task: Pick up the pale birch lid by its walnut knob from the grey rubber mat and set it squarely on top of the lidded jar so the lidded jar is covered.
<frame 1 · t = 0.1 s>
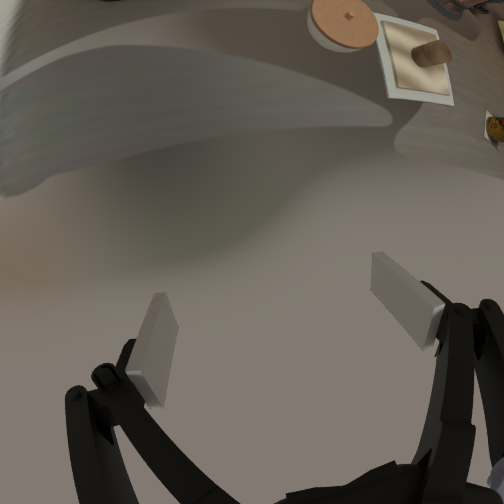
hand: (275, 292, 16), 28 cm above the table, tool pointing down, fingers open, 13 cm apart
condiment: (492, 130, 40), on the table
mat: (415, 59, 34), on the table
lidded jar: (328, 34, 33), on the table
lid: (416, 58, 33), point 1 cm above the table, touching mat
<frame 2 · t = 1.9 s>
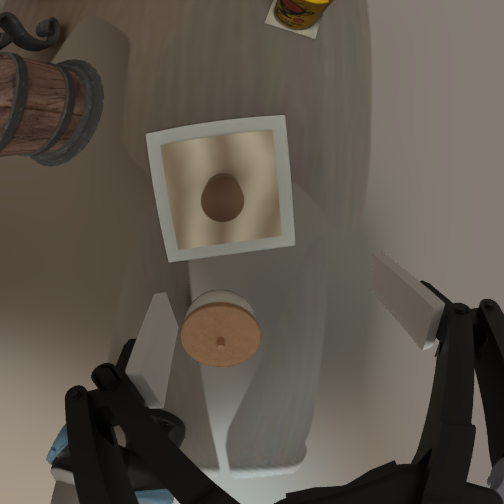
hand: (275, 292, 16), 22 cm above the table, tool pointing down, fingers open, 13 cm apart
tankard: (57, 91, 27), on the table
condiment: (296, 11, 26), on the table
mat: (222, 188, 35), on the table
lidded jar: (220, 307, 42), on the table
lid: (222, 189, 34), point 1 cm above the table, touching mat
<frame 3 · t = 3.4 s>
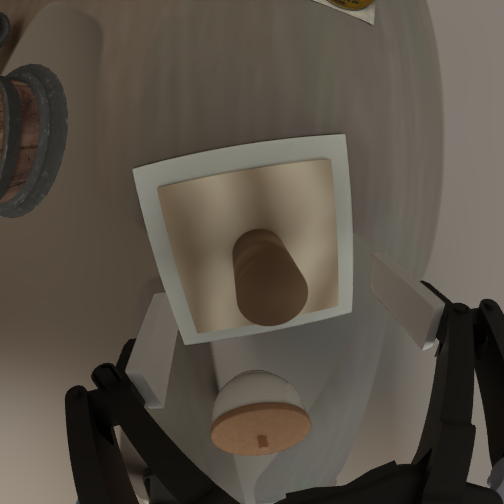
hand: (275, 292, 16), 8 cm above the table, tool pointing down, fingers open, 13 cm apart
tankard: (10, 112, 16), on the table
mat: (256, 247, 24), on the table
lidded jar: (253, 385, 31), on the table
lid: (257, 250, 24), point 1 cm above the table, touching mat
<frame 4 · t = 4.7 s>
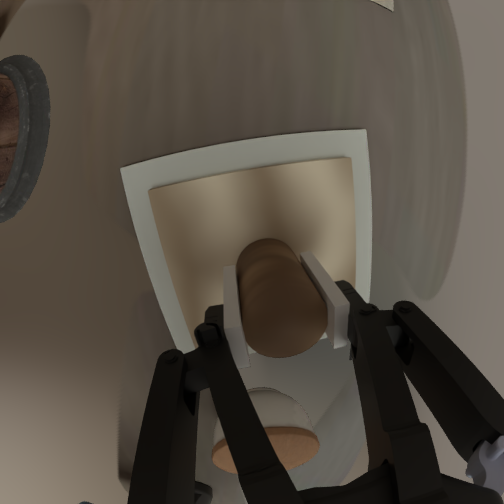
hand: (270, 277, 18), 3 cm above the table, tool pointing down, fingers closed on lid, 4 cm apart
mat: (263, 258, 21), on the table
lidded jar: (258, 401, 28), on the table
lid: (264, 261, 21), point 1 cm above the table, touching gripper, mat
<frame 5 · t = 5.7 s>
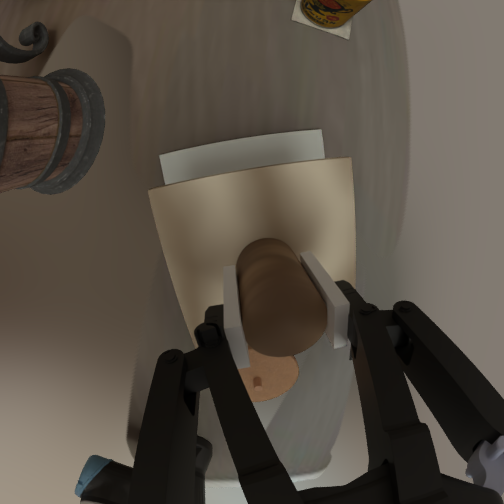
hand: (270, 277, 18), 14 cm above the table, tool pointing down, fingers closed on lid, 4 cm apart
tankard: (50, 107, 23), on the table
condiment: (325, 7, 22), on the table
mat: (253, 216, 31), on the table
lidded jar: (251, 338, 39), on the table
lid: (264, 261, 21), point 12 cm above the table, touching gripper
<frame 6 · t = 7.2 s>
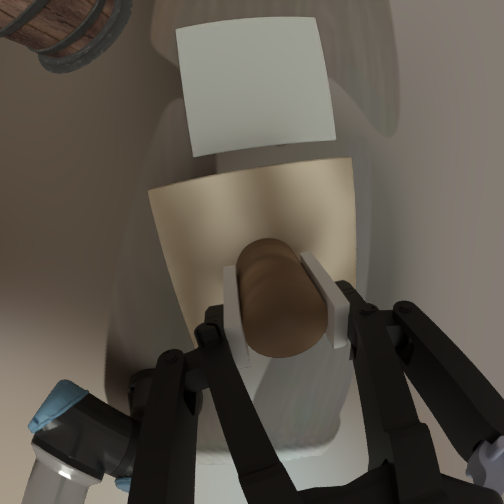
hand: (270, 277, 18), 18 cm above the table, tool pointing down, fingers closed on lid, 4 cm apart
tankard: (83, 8, 20), on the table
mat: (256, 78, 28), on the table
lid: (264, 261, 21), point 16 cm above the table, touching gripper
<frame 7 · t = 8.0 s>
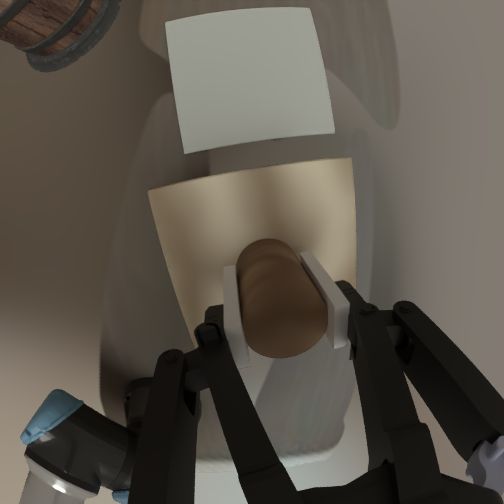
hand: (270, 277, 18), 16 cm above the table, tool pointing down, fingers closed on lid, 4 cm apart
tankard: (71, 6, 18), on the table
mat: (249, 70, 26), on the table
lid: (265, 261, 21), point 14 cm above the table, touching gripper
when the fingers open (13 cm above the table, at t = 9.2 s): lid drops 1 cm, resting on lidded jar.
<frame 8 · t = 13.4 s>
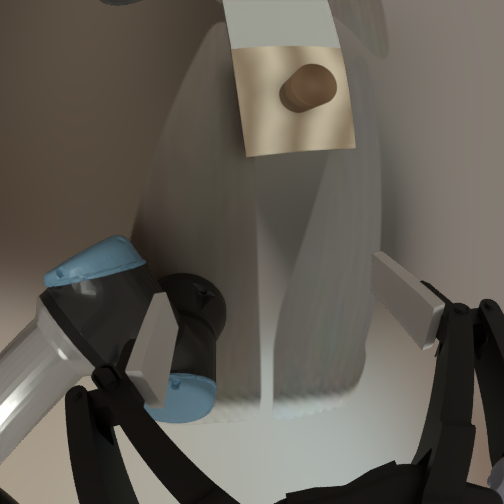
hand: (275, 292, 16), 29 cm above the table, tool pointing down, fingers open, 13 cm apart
mat: (279, 12, 31), on the table
lid: (295, 97, 29), point 9 cm above the table, touching lidded jar
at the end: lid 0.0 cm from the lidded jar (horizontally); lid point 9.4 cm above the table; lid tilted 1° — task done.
